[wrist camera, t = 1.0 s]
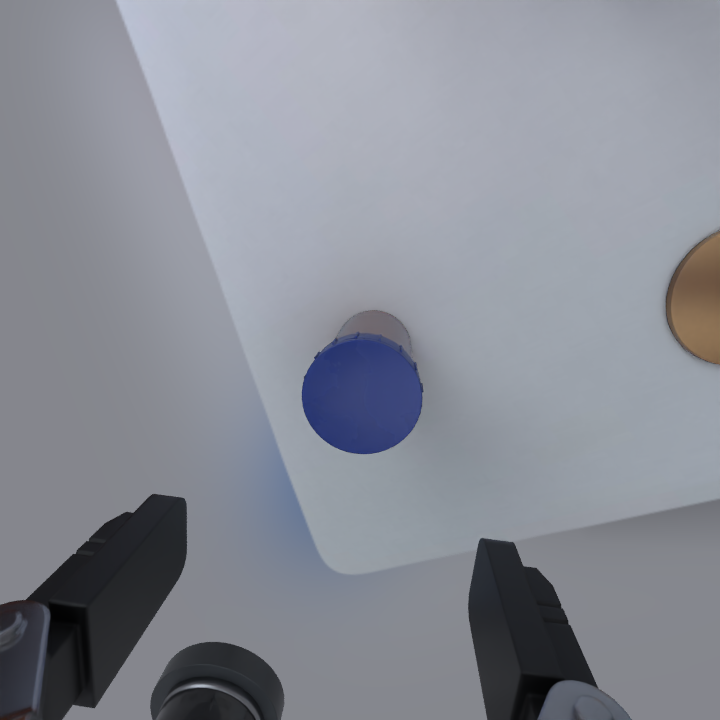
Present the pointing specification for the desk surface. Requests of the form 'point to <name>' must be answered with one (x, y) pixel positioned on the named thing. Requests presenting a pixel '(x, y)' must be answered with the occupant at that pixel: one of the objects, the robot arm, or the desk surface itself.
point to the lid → (362, 393)
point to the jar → (378, 327)
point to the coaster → (697, 300)
